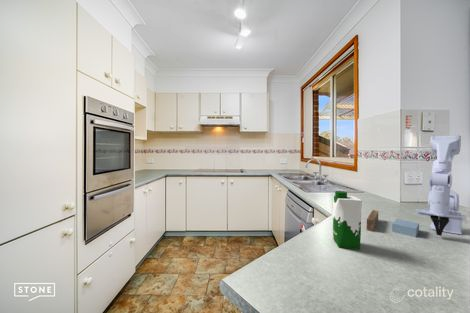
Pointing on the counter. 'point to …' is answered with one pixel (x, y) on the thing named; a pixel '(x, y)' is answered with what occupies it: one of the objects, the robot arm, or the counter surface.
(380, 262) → the counter surface
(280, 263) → the counter surface
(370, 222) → the board
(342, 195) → the milk carton
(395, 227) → the block
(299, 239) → the counter surface
